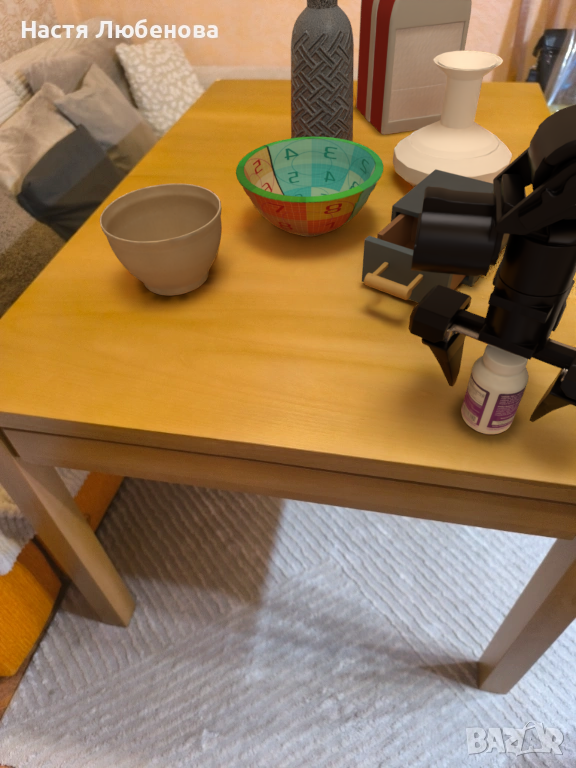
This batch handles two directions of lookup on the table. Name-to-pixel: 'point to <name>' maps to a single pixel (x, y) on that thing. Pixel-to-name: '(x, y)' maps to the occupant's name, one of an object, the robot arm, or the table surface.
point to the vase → (322, 72)
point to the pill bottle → (494, 390)
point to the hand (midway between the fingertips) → (491, 400)
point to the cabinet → (437, 178)
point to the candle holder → (455, 127)
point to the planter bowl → (165, 235)
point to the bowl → (309, 182)
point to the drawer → (400, 263)
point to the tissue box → (406, 59)
